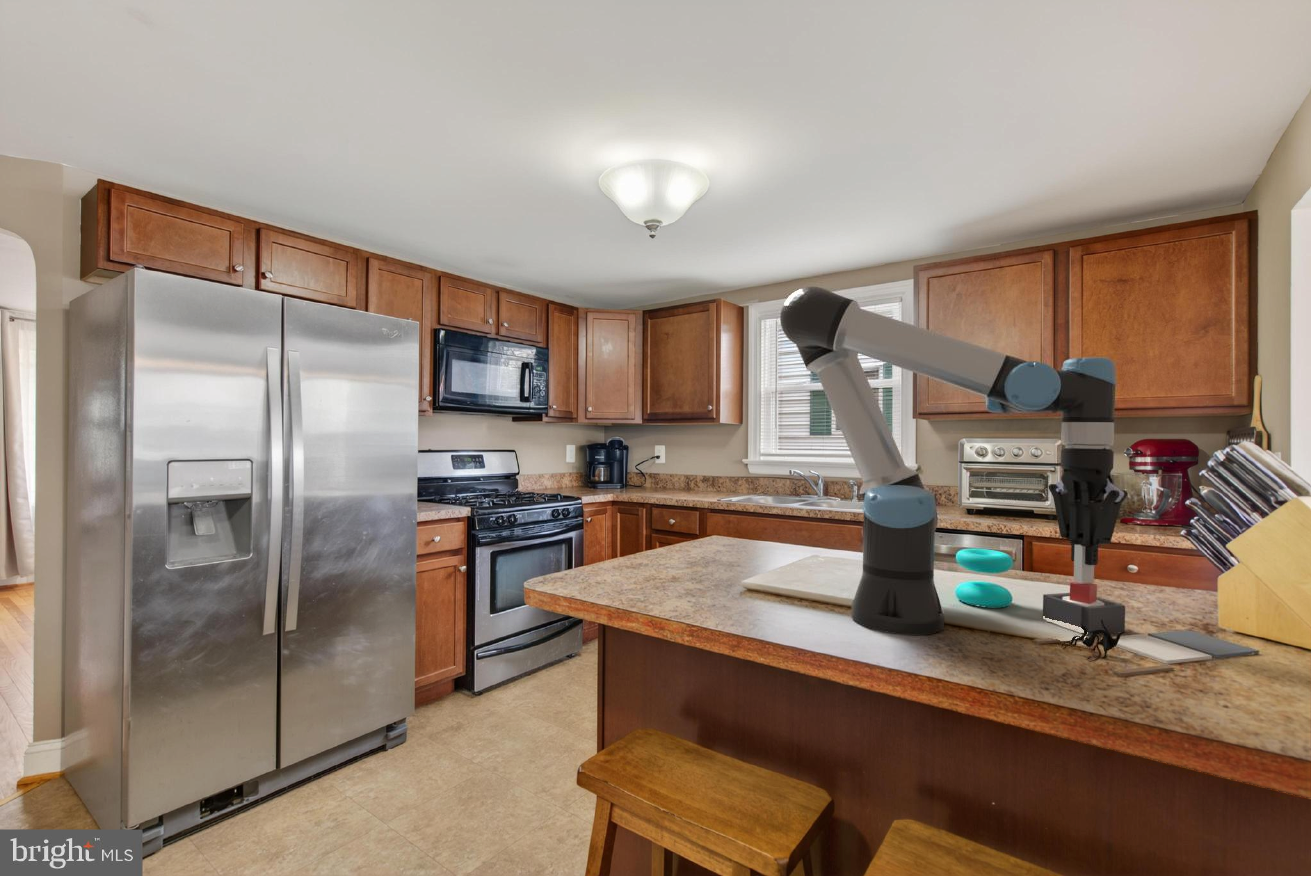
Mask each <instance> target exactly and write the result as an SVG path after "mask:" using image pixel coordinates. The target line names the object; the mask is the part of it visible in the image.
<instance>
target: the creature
mask: <svg viewBox="0 0 1311 876" xmlns="http://www.w3.org/2000/svg"><path fill="white" fill-rule="evenodd" d="M1079 623H1080V622H1079ZM1080 624H1081V623H1080ZM1101 624H1102V626H1103V628H1104V629H1105V631H1104V630H1094V631H1091V632H1090V631H1089V632H1090V633H1092V635H1089V637H1088V636H1087V635H1086V634H1087V628H1086V627H1084V626H1083V625H1082V624H1081V625H1082V627H1081V628H1082V629H1083V630H1084V634H1081V635H1082V636H1081V637H1080V636H1078V635H1073V636H1074V637H1073V638H1072V640H1071V641H1067V642H1062V645H1061V646H1060V649H1062V650H1064V651H1065V650H1066V648H1067V647H1068V645H1070V647H1069V648H1071V649H1073V647H1074V650H1075V649H1076V650H1079V652H1081V651H1082V649H1078V648H1076V646H1077V644H1078V641H1081V642H1082V644H1083V645H1084V646H1086V648H1084V650H1085V649H1087V650H1089V651H1092V652H1095V651H1096V650H1097V651H1098V657H1096V658H1094V659H1093V660H1089V659H1090V658H1091V656H1090V655H1088V657H1087V660H1089V661H1088V662H1095V661H1097V660H1099V659H1100V658H1102V659H1107V654H1108V651H1109V650H1112V649H1114V648H1115V647H1117V646H1116V645H1117V643H1118V641H1119V639H1120V636H1123V634H1125V633H1126V634H1127V632H1126V631H1125V632H1121V633H1116V634H1117V635H1116V636H1117V637H1116V636H1115V637H1116V638H1115V639H1114V638H1112V637H1113V636H1112V635H1111V633H1109V632H1108V630H1107V629H1106V627H1105V626H1104V624H1103V620H1101ZM1099 633H1103V634H1102V635H1103V636H1102V637H1101V638H1102V639H1101V638H1100V636H1099V635H1100V634H1099ZM1098 634H1099V635H1098ZM1085 636H1086V638H1085V640H1084V637H1085ZM1076 637H1079V638H1077V639H1075V638H1076ZM1087 637H1088V638H1087ZM1096 638H1097V639H1096ZM1095 640H1096V643H1095ZM1094 644H1095V645H1094ZM1071 646H1073V647H1071ZM1099 646H1102V648H1103V651H1104V655H1103V656H1102V651H1101V650H1100V647H1099ZM1091 647H1093V649H1089V648H1091Z"/></svg>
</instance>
